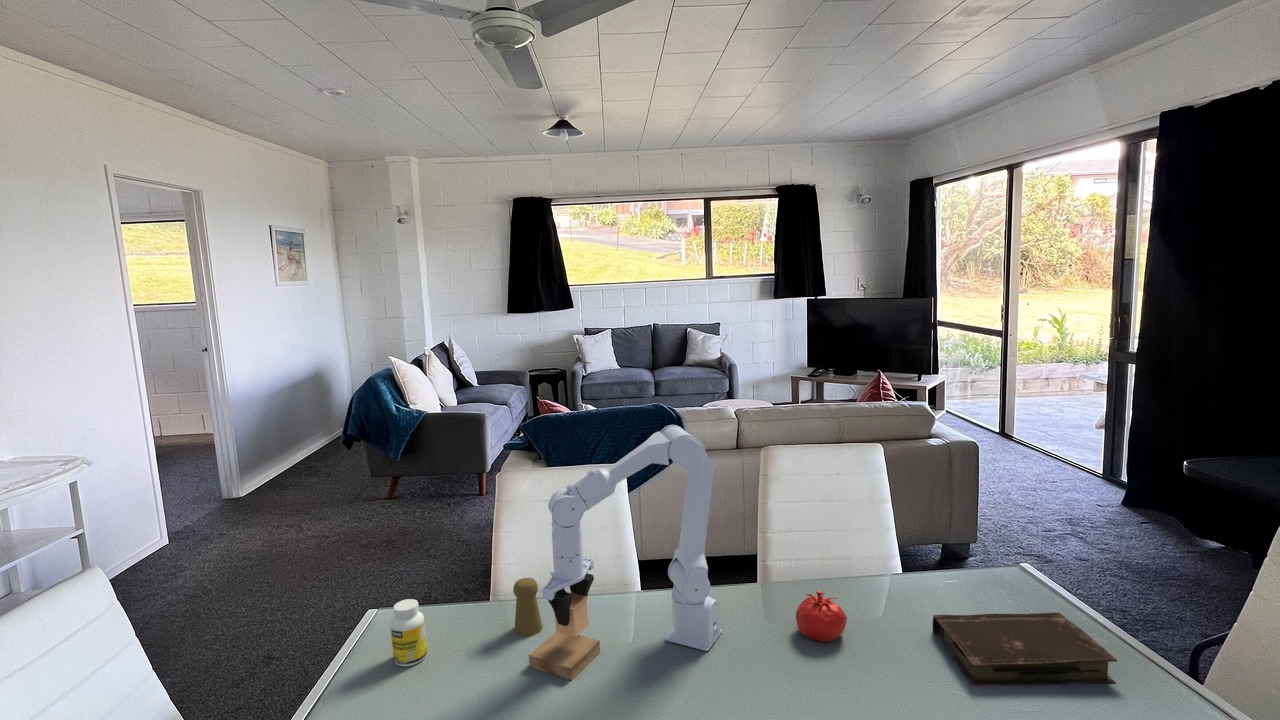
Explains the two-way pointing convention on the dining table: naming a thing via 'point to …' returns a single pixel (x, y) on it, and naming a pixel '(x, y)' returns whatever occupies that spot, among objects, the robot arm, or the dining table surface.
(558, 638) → the walnut block
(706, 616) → the robot arm
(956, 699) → the dining table surface
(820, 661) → the dining table surface
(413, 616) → the pill bottle
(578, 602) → the square wooden stamp
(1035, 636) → the diary
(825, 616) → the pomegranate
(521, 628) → the olive pawn
